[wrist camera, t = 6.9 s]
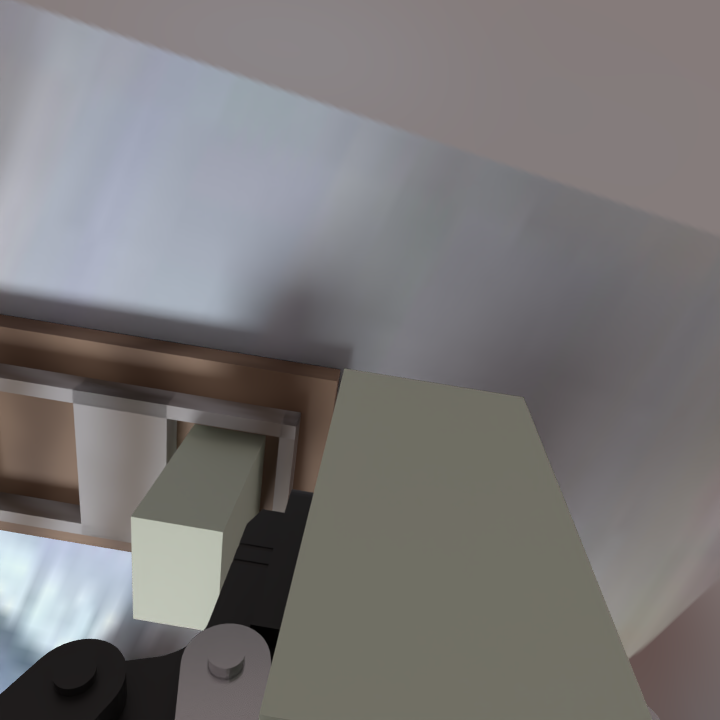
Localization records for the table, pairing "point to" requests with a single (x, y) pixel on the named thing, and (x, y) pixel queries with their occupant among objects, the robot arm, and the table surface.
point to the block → (194, 525)
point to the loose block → (443, 572)
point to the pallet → (146, 365)
